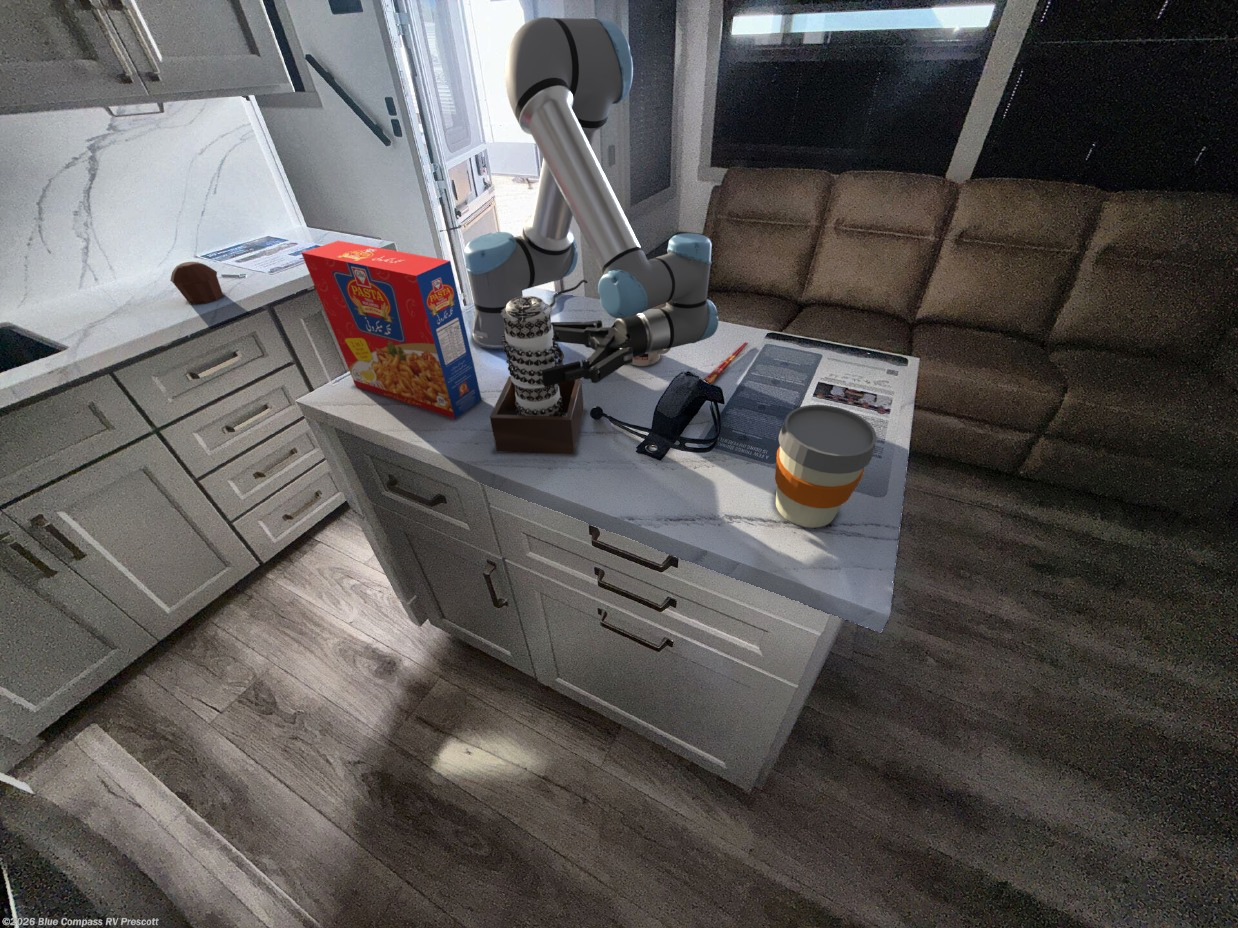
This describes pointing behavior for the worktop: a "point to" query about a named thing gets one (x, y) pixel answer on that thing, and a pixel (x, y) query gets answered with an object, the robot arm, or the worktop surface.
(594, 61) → the robot arm
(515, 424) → the walnut box
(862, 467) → the reusable coffee cup
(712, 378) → the chopstick
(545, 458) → the worktop surface
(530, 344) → the patterned vase
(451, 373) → the pasta box
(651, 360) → the teacup with lid
